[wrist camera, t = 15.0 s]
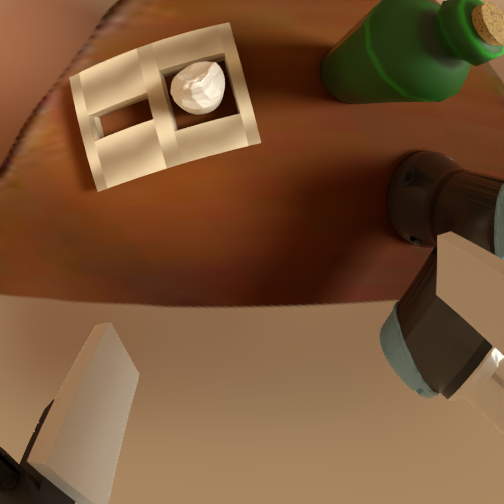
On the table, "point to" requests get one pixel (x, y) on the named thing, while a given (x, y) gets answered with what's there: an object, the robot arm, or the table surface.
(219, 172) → the table surface
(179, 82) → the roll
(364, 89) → the bottle
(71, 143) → the table surface
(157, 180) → the table surface
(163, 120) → the socket board
